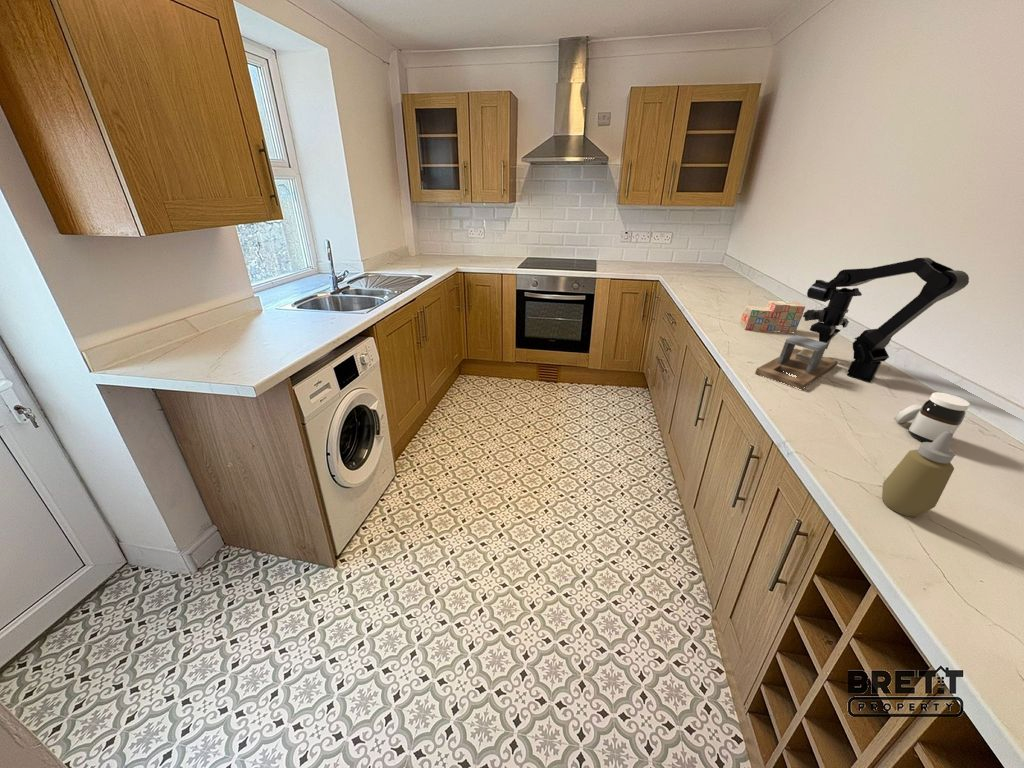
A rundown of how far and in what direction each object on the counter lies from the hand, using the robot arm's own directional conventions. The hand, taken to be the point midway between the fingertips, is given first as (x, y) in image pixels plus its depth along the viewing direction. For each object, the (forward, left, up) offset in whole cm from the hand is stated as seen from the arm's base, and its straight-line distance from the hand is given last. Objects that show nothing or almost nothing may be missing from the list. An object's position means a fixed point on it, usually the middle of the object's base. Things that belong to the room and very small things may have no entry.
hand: (820, 347), depth 148 cm
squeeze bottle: (-39, +75, -5) cm, 84 cm away
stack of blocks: (+25, -19, -5) cm, 32 cm away
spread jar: (-35, +35, -5) cm, 50 cm away
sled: (0, +4, -2) cm, 4 cm away
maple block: (0, +10, -3) cm, 10 cm away
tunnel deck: (0, +18, -5) cm, 19 cm away
